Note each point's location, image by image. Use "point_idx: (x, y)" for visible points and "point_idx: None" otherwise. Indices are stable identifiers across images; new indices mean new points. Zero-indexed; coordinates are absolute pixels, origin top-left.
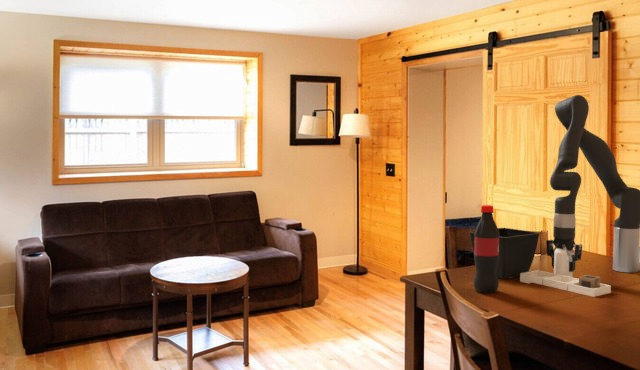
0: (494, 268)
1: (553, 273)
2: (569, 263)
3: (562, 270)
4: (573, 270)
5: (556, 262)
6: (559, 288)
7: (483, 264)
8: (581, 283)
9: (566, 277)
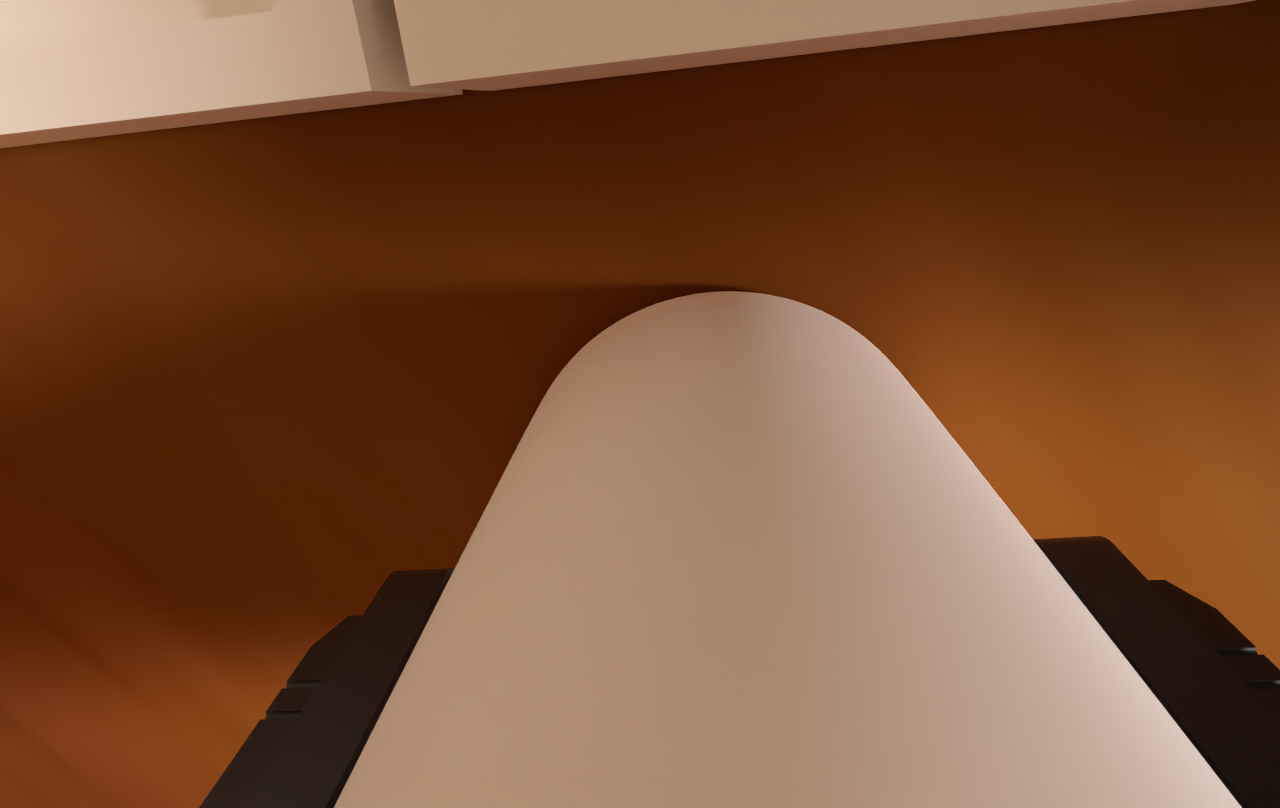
0: None
1: (644, 38)
2: (324, 767)
3: (562, 431)
4: None
5: (836, 509)
6: None
7: None
8: None
9: (68, 39)
